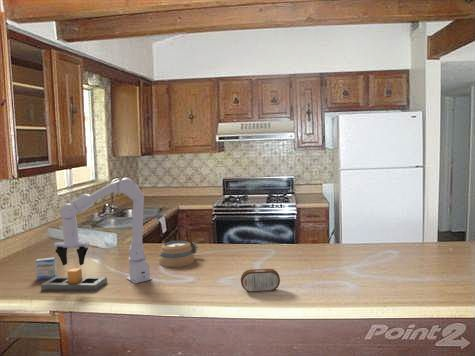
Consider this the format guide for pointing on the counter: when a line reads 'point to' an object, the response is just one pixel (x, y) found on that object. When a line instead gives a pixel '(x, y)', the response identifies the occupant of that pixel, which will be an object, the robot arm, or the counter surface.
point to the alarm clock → (177, 253)
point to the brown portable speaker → (260, 280)
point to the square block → (74, 275)
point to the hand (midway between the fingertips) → (73, 264)
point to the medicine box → (46, 268)
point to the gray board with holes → (74, 284)
